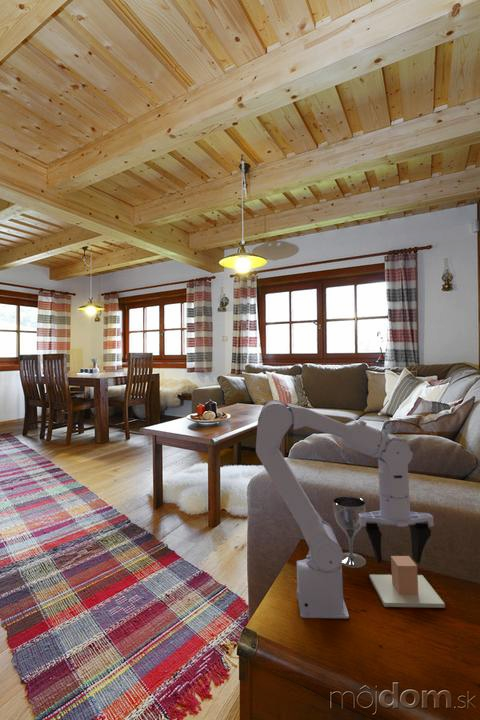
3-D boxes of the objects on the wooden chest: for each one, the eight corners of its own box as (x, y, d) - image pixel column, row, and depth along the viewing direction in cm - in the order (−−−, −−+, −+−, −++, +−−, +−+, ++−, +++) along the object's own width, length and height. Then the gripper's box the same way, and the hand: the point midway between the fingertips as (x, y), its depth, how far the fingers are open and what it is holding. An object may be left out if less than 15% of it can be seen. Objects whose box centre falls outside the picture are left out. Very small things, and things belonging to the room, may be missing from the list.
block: (399, 594, 74) (397, 565, 74) (392, 583, 78) (390, 555, 78) (418, 594, 73) (417, 565, 74) (410, 583, 77) (409, 556, 78)
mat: (384, 606, 71) (384, 602, 71) (369, 578, 81) (369, 574, 81) (444, 607, 70) (444, 603, 70) (422, 578, 80) (422, 575, 80)
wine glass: (373, 559, 89) (370, 500, 90) (359, 572, 83) (356, 509, 84) (344, 549, 95) (342, 493, 95) (329, 561, 89) (327, 501, 89)
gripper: (364, 500, 68) (367, 570, 68) (439, 500, 67) (443, 571, 67) (354, 488, 75) (357, 552, 75) (423, 488, 74) (426, 552, 74)
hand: (397, 560), depth 71 cm, fingers open, 7 cm apart
